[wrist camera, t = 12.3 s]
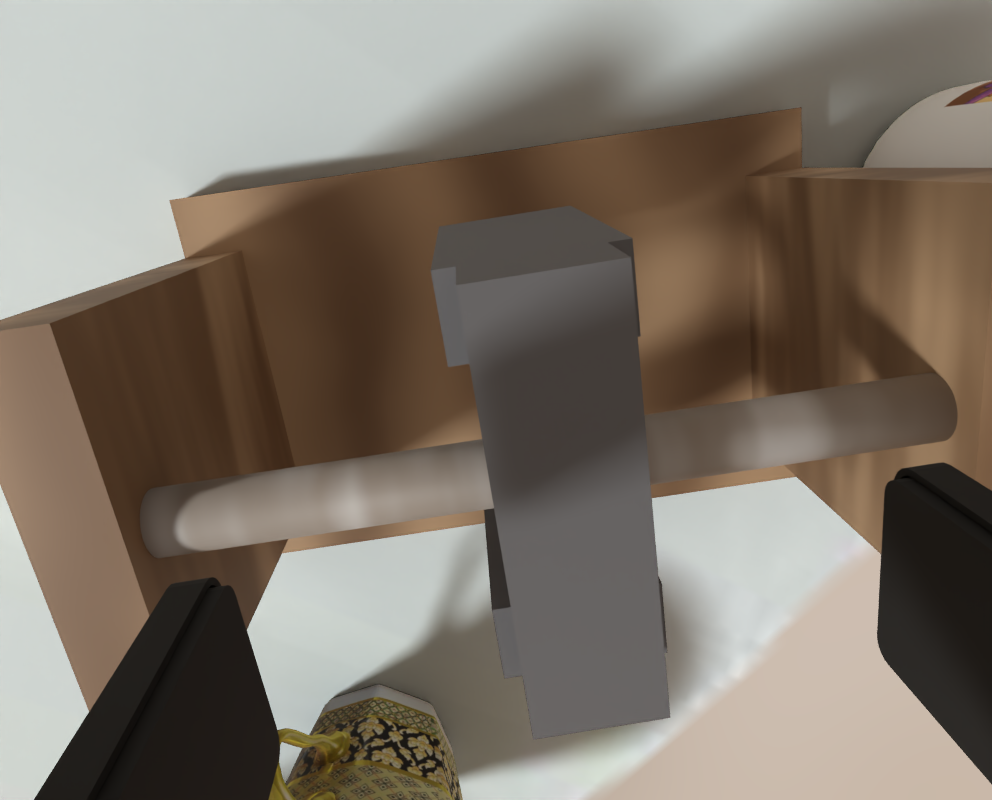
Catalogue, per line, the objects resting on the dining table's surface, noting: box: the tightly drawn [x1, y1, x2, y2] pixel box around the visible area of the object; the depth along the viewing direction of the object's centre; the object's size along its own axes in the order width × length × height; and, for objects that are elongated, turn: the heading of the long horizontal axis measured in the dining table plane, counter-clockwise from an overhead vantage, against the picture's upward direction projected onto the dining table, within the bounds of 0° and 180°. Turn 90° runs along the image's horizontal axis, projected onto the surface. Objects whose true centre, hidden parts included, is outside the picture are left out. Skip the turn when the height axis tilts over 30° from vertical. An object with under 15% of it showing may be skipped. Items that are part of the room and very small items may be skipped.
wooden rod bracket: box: [0, 107, 992, 712], centre depth 22 cm, size 22×14×14 cm, turn 98°
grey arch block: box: [431, 206, 670, 740], centre depth 19 cm, size 10×4×10 cm, turn 9°
